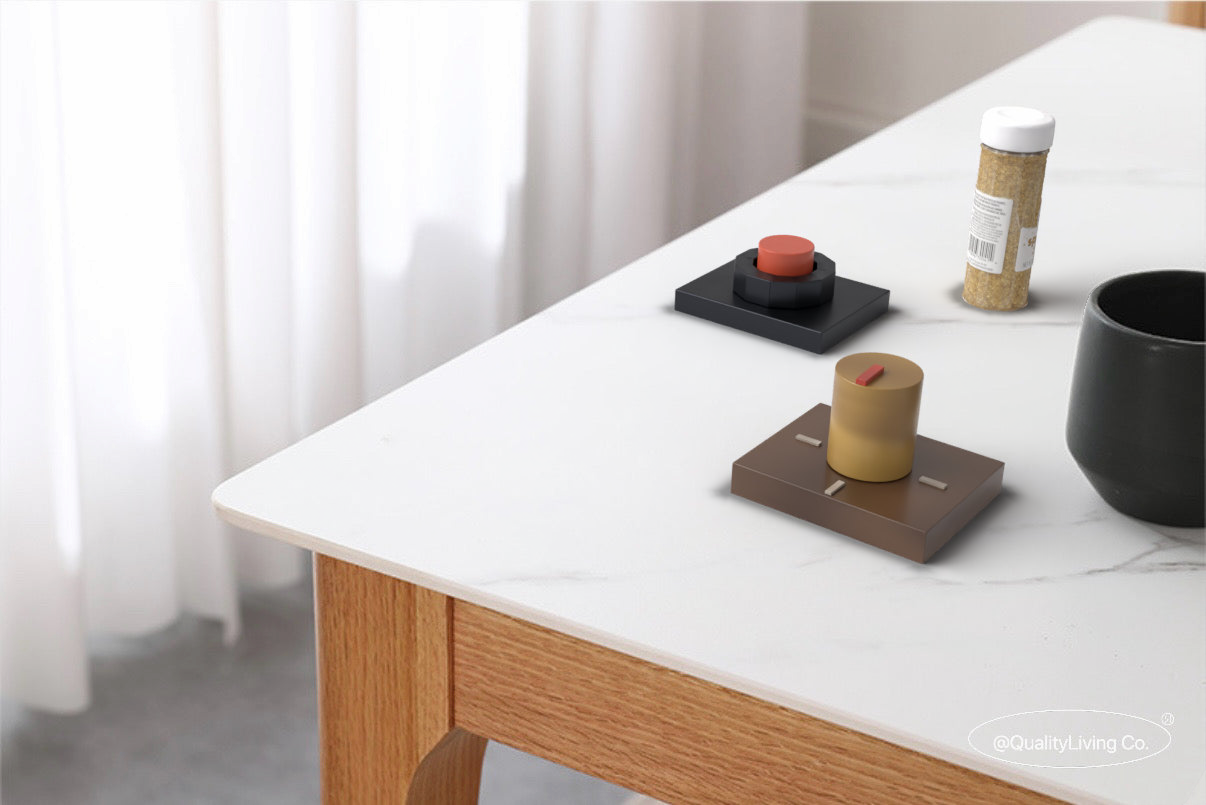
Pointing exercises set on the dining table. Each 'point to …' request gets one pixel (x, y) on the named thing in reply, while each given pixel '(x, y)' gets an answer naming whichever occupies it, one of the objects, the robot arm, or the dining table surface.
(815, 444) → the lock plate
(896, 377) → the lock knob
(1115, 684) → the dining table surface
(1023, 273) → the sprinkles bottle
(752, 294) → the button block
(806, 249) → the button
